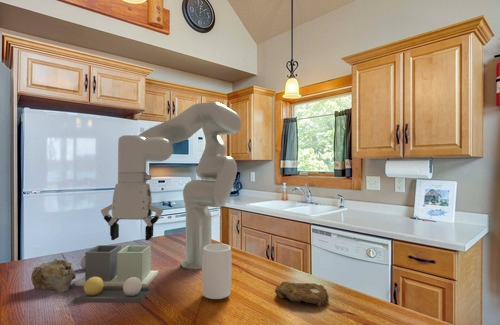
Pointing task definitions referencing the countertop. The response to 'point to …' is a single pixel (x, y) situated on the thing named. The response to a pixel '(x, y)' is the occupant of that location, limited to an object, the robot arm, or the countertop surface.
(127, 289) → the white ball
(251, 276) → the countertop surface
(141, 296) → the mat
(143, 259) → the grey double box
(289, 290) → the decorative rock
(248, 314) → the countertop surface
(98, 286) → the mustard ball
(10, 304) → the countertop surface
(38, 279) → the rock
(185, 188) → the robot arm
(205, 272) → the cup
